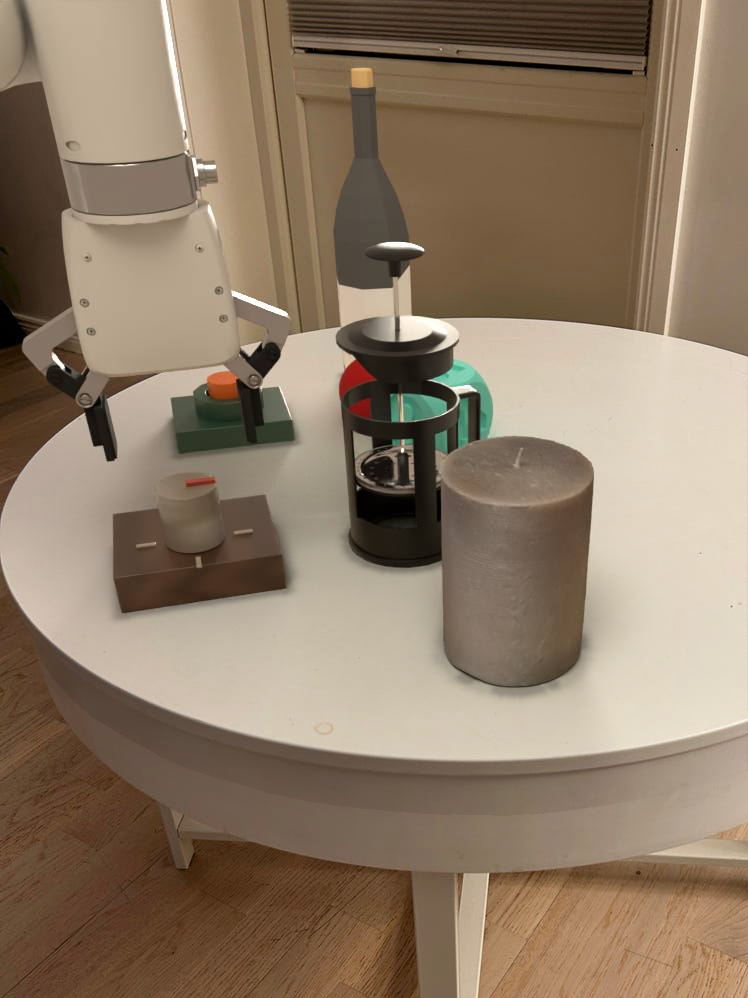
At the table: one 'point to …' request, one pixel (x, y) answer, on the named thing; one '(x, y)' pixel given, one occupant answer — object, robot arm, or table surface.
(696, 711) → the table surface
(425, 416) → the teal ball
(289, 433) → the button box
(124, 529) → the dial panel
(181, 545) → the dial knob
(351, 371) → the christmas ornament
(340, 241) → the wine bottle
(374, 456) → the french press
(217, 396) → the button
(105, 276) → the robot arm
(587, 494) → the pillar candle
